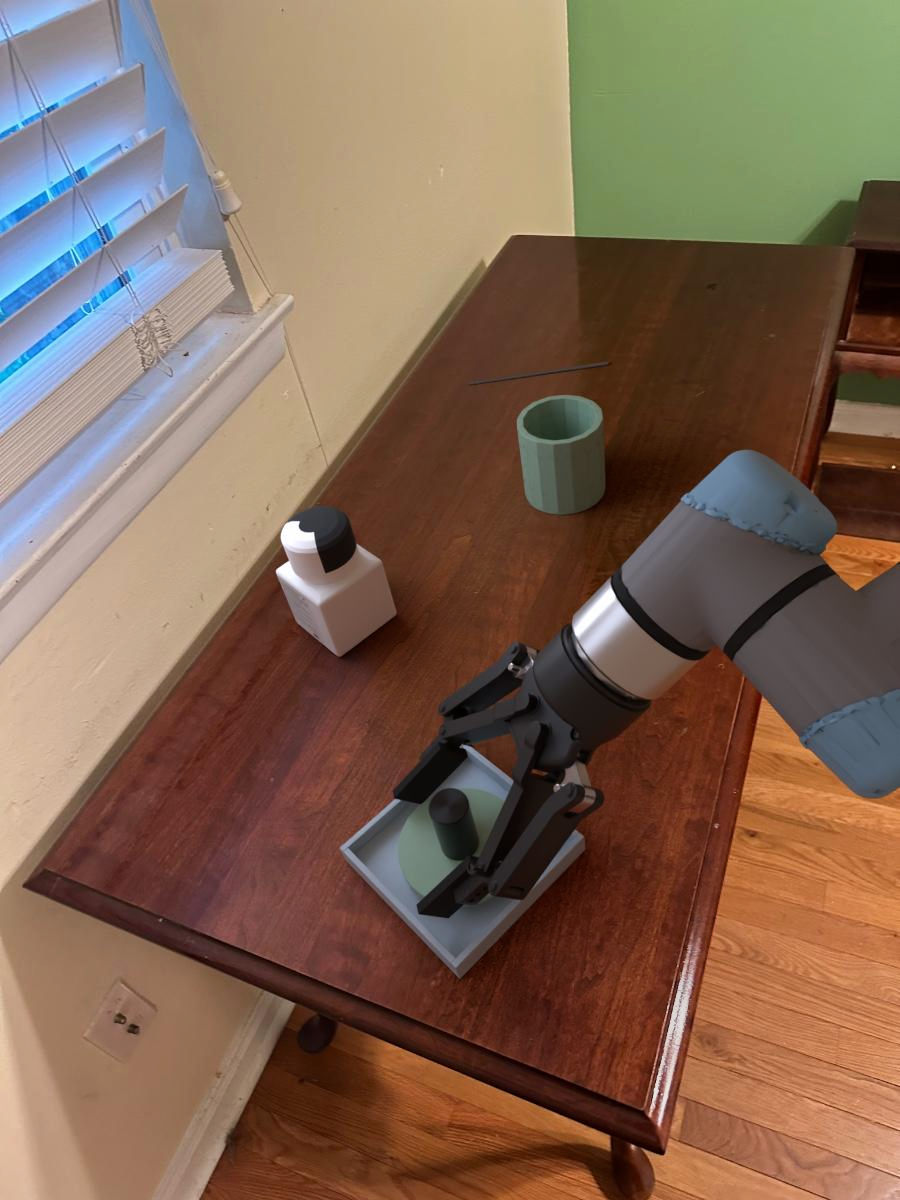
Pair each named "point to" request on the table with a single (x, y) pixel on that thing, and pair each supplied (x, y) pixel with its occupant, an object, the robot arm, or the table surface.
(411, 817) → the lid
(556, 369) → the rod
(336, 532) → the container
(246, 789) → the table surface
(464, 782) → the tray
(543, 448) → the faceted green cup
